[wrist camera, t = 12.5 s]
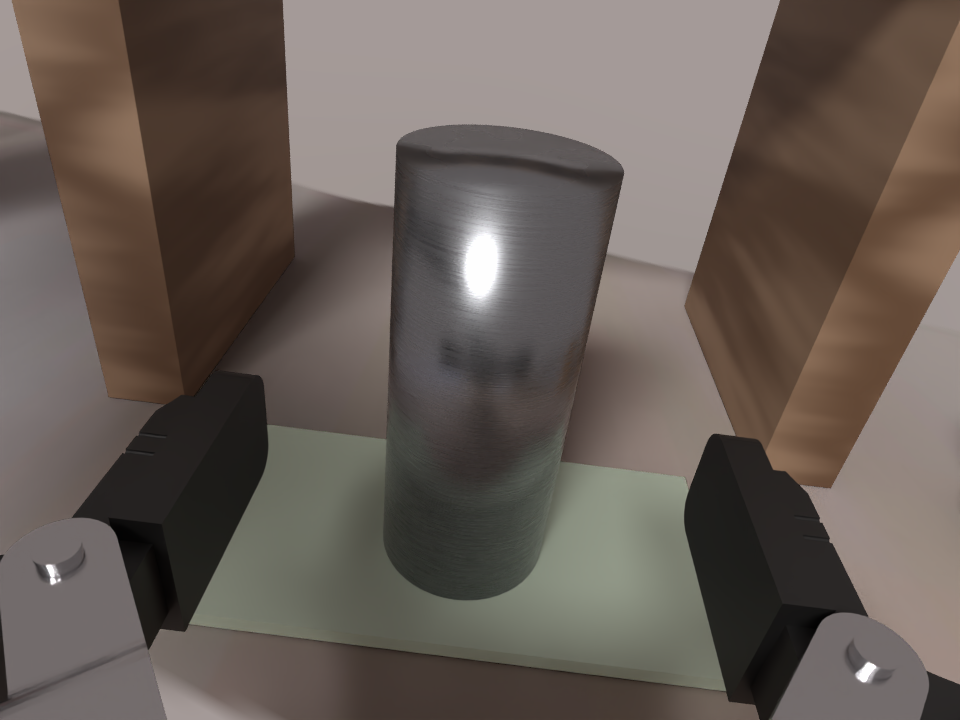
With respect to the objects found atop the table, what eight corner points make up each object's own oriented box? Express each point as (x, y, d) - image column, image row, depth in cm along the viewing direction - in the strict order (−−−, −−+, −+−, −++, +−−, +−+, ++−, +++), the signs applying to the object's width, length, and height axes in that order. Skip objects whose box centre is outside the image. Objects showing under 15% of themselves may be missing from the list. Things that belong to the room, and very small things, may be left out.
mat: (152, 619, 18) (149, 608, 18) (255, 433, 25) (253, 422, 25) (735, 692, 18) (741, 682, 18) (681, 486, 25) (684, 476, 25)
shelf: (94, 412, 25) (-144, -490, 13) (248, 242, 38) (201, -277, 26) (840, 506, 25) (1297, -302, 13) (733, 304, 38) (908, -186, 26)
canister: (367, 588, 19) (374, 175, 13) (398, 470, 23) (415, 115, 17) (541, 610, 19) (637, 208, 13) (540, 488, 23) (612, 139, 17)
